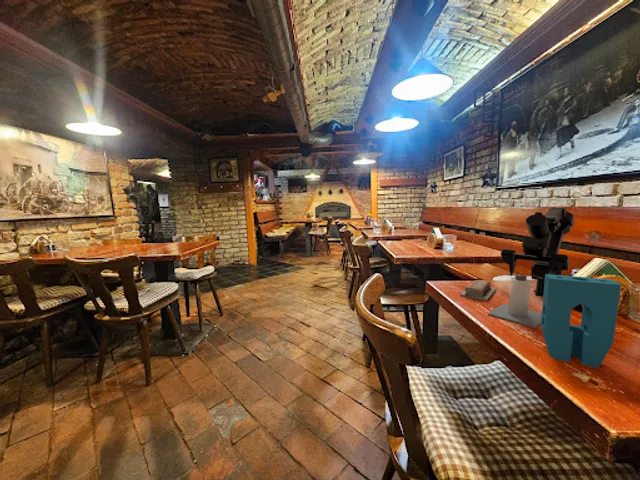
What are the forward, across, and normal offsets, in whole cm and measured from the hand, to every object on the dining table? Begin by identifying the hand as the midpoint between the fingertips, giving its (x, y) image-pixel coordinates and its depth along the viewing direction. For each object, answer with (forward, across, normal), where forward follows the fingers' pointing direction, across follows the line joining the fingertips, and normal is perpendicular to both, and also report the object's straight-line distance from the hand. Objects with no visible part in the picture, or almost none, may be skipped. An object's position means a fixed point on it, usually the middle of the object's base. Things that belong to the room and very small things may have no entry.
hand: (526, 277), depth 89 cm
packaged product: (+3, -18, +15) cm, 24 cm away
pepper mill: (+13, 0, +4) cm, 13 cm away
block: (+27, +16, -10) cm, 33 cm away
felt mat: (+13, 0, +4) cm, 14 cm away
